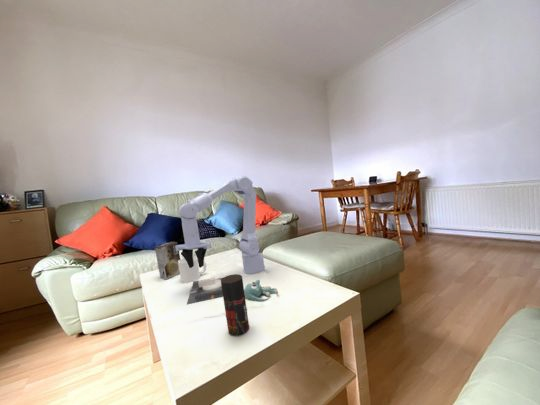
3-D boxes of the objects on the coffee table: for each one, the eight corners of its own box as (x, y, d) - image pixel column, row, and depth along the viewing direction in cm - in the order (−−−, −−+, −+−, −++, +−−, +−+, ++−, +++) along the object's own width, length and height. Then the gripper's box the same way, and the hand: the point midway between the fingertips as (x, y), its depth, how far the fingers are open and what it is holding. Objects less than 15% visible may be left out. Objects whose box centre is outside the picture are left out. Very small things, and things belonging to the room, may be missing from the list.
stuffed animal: (281, 286, 79) (245, 286, 78) (279, 306, 80) (243, 307, 78) (275, 274, 90) (244, 274, 88) (274, 292, 90) (243, 292, 89)
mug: (205, 273, 116) (202, 253, 115) (210, 278, 109) (207, 256, 108) (180, 281, 110) (176, 260, 109) (183, 287, 102) (179, 264, 102)
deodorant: (229, 324, 70) (222, 276, 69) (249, 321, 70) (242, 273, 69) (227, 337, 64) (219, 284, 63) (249, 334, 64) (241, 281, 63)
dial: (223, 282, 99) (222, 273, 98) (223, 290, 91) (222, 280, 90) (195, 288, 97) (194, 278, 96) (193, 296, 89) (191, 286, 88)
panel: (235, 278, 105) (234, 272, 104) (237, 296, 87) (236, 289, 87) (193, 286, 101) (192, 280, 101) (187, 307, 84) (185, 300, 83)
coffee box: (176, 271, 125) (171, 241, 123) (183, 272, 121) (178, 242, 120) (159, 278, 118) (154, 246, 116) (166, 279, 114) (161, 247, 112)
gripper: (168, 237, 91) (174, 271, 93) (202, 234, 88) (208, 270, 89) (179, 233, 98) (185, 264, 99) (211, 230, 95) (216, 263, 96)
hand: (196, 266), depth 95 cm, fingers open, 4 cm apart
